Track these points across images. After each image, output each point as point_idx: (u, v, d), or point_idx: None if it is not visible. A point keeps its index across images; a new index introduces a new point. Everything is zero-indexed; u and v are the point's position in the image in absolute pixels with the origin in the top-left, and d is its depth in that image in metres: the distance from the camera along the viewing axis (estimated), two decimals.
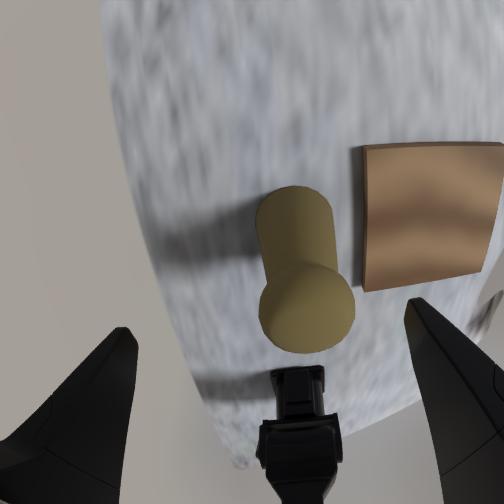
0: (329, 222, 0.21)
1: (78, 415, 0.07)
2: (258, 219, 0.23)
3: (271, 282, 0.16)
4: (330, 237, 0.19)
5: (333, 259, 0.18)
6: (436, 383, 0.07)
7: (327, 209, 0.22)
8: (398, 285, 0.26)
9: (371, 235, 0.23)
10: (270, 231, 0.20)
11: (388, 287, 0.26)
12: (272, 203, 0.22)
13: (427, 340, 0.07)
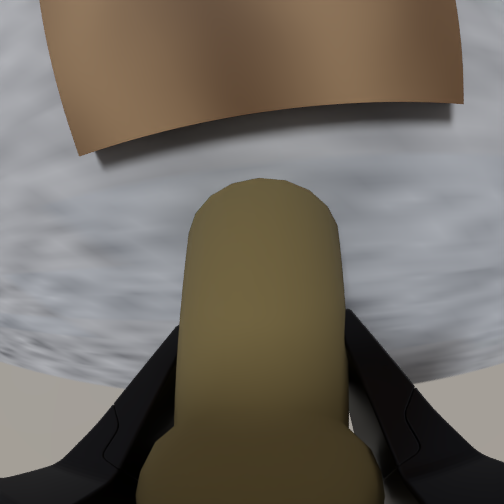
0: (206, 248, 0.09)
1: (148, 426, 0.06)
2: None
3: None
4: (200, 295, 0.08)
5: (199, 361, 0.06)
6: (355, 400, 0.07)
7: (207, 219, 0.10)
8: (452, 8, 0.06)
9: (283, 97, 0.08)
10: None
11: (456, 36, 0.06)
12: None
13: None
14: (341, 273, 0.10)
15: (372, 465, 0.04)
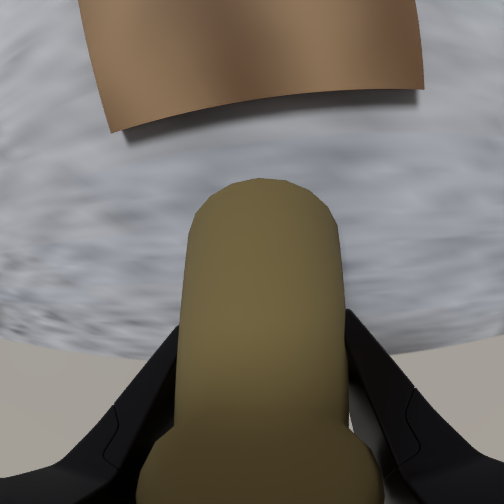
0: (206, 248, 0.09)
1: (148, 426, 0.06)
2: None
3: None
4: (200, 295, 0.08)
5: (199, 361, 0.06)
6: (355, 400, 0.07)
7: (207, 219, 0.10)
8: (412, 12, 0.08)
9: (276, 87, 0.11)
10: None
11: (417, 35, 0.09)
12: None
13: None
14: (341, 273, 0.10)
15: (372, 465, 0.04)
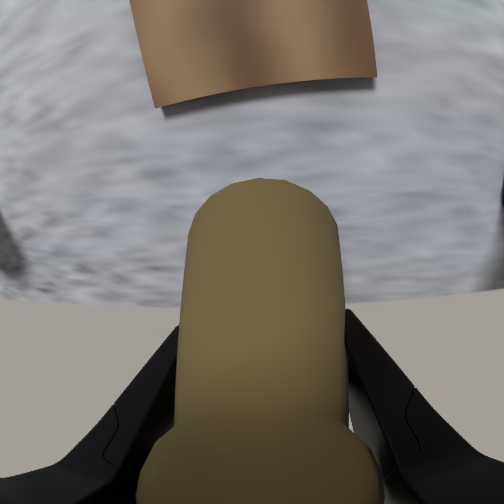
0: (206, 248, 0.09)
1: (148, 426, 0.06)
2: None
3: None
4: (200, 295, 0.08)
5: (199, 362, 0.06)
6: (355, 400, 0.07)
7: (207, 219, 0.10)
8: (367, 23, 0.13)
9: (272, 78, 0.15)
10: None
11: (370, 39, 0.14)
12: None
13: None
14: (341, 273, 0.10)
15: (372, 465, 0.04)
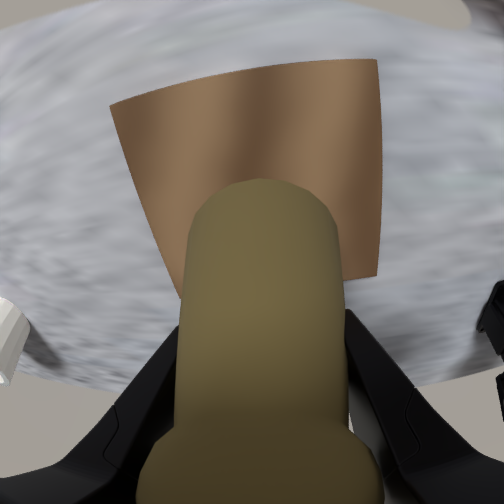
0: (206, 248, 0.09)
1: (148, 426, 0.06)
2: None
3: None
4: (200, 295, 0.08)
5: (199, 362, 0.06)
6: (355, 400, 0.07)
7: (207, 219, 0.10)
8: (377, 232, 0.17)
9: None
10: None
11: (377, 246, 0.18)
12: None
13: None
14: (341, 273, 0.09)
15: (372, 466, 0.04)
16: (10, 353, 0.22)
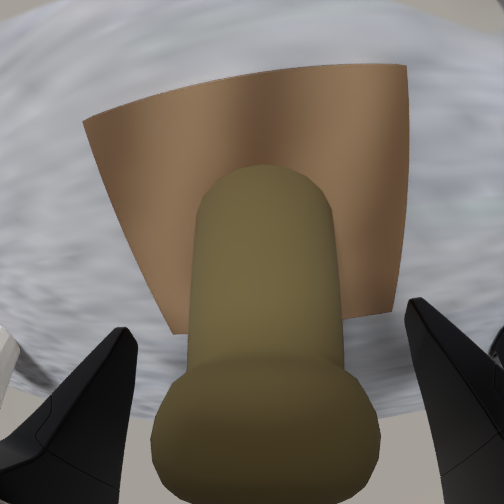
0: (216, 222, 0.10)
1: (78, 415, 0.07)
2: None
3: None
4: (212, 259, 0.09)
5: (212, 312, 0.07)
6: (437, 383, 0.07)
7: (215, 199, 0.11)
8: (396, 267, 0.15)
9: None
10: None
11: (394, 281, 0.15)
12: None
13: (428, 340, 0.07)
14: (335, 247, 0.11)
15: (367, 400, 0.06)
16: None
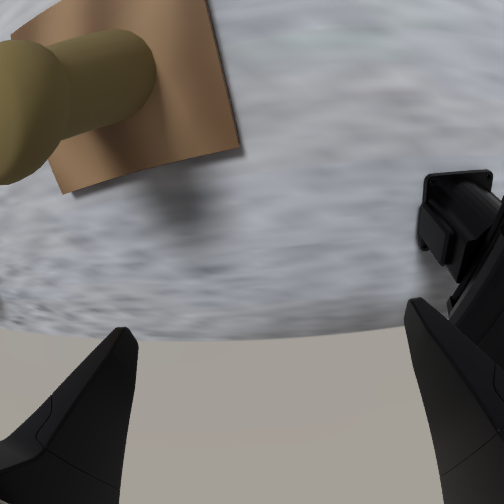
0: None
1: (78, 415, 0.07)
2: None
3: None
4: None
5: None
6: (436, 383, 0.07)
7: None
8: (223, 94, 0.16)
9: (143, 164, 0.18)
10: None
11: (228, 110, 0.16)
12: None
13: (427, 340, 0.07)
14: (125, 52, 0.12)
15: (46, 50, 0.07)
16: None
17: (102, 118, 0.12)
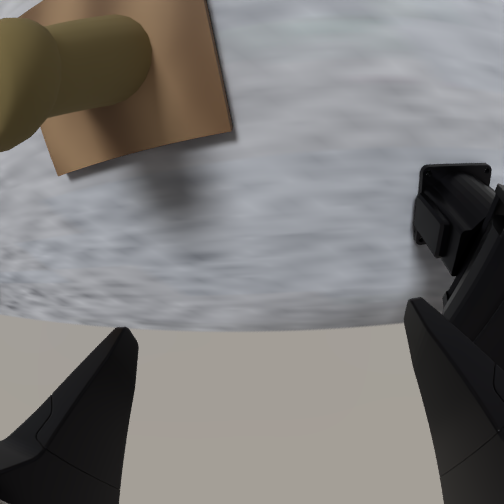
0: None
1: (78, 415, 0.07)
2: None
3: None
4: None
5: None
6: (436, 383, 0.07)
7: None
8: (216, 78, 0.16)
9: (136, 146, 0.18)
10: None
11: (221, 94, 0.16)
12: None
13: (427, 340, 0.07)
14: (121, 35, 0.12)
15: (40, 27, 0.06)
16: None
17: (95, 96, 0.12)
